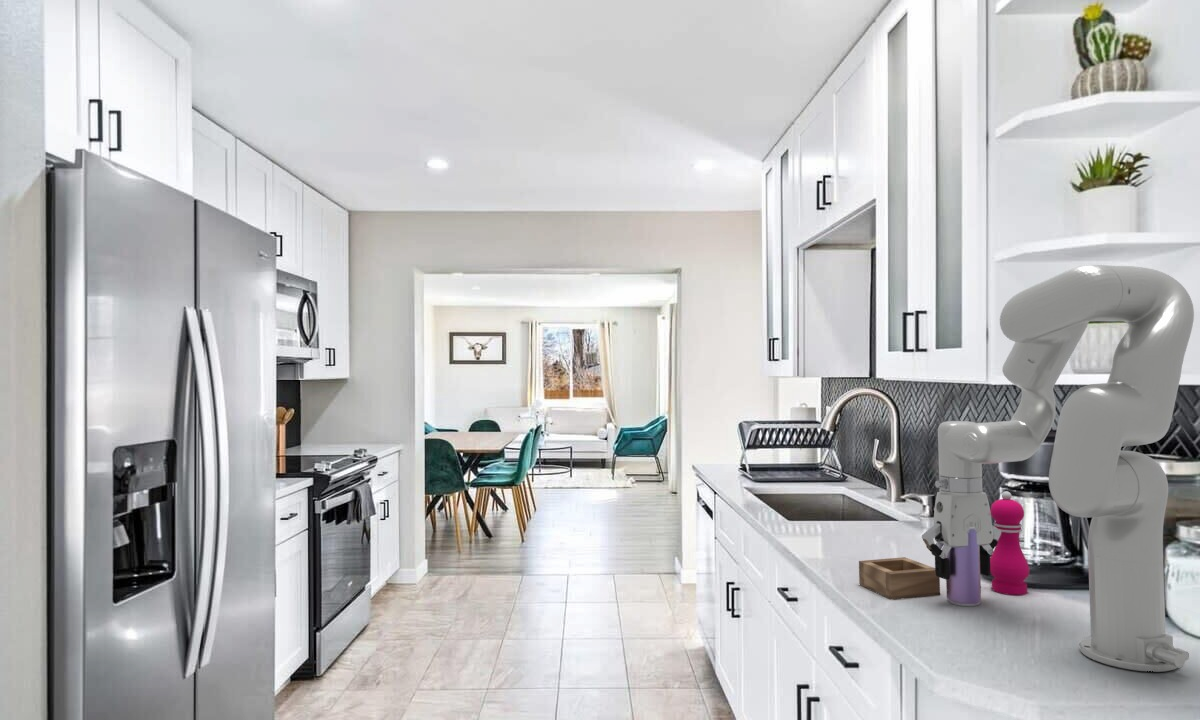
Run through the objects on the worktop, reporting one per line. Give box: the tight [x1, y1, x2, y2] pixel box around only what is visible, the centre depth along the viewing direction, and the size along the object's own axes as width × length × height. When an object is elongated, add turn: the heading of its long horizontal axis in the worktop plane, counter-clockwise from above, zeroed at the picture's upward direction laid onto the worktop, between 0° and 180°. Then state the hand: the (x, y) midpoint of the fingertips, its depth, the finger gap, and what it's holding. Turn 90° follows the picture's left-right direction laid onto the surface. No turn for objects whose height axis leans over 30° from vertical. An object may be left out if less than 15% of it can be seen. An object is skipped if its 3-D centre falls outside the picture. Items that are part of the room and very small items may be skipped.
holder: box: [858, 556, 941, 600], centre depth 155 cm, size 11×11×5 cm
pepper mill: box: [990, 491, 1030, 596], centre depth 153 cm, size 7×7×20 cm
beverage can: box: [945, 527, 982, 607], centre depth 146 cm, size 6×6×15 cm
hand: (963, 575), depth 146 cm, fingers open, 8 cm apart
